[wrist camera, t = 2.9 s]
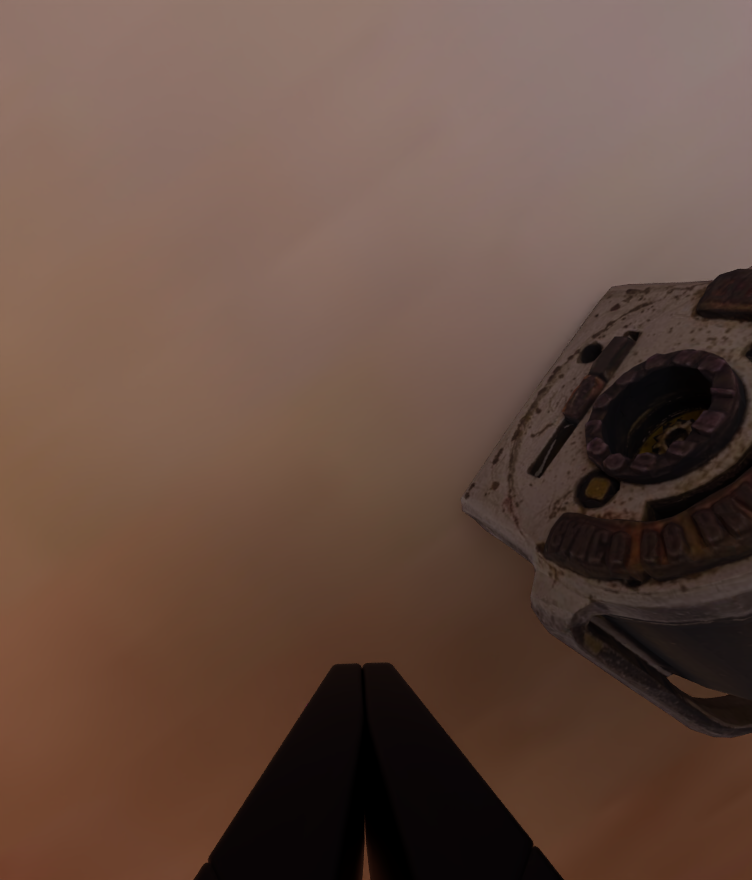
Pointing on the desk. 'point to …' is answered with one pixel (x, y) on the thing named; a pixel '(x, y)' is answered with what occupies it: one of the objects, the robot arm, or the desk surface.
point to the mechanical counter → (642, 494)
